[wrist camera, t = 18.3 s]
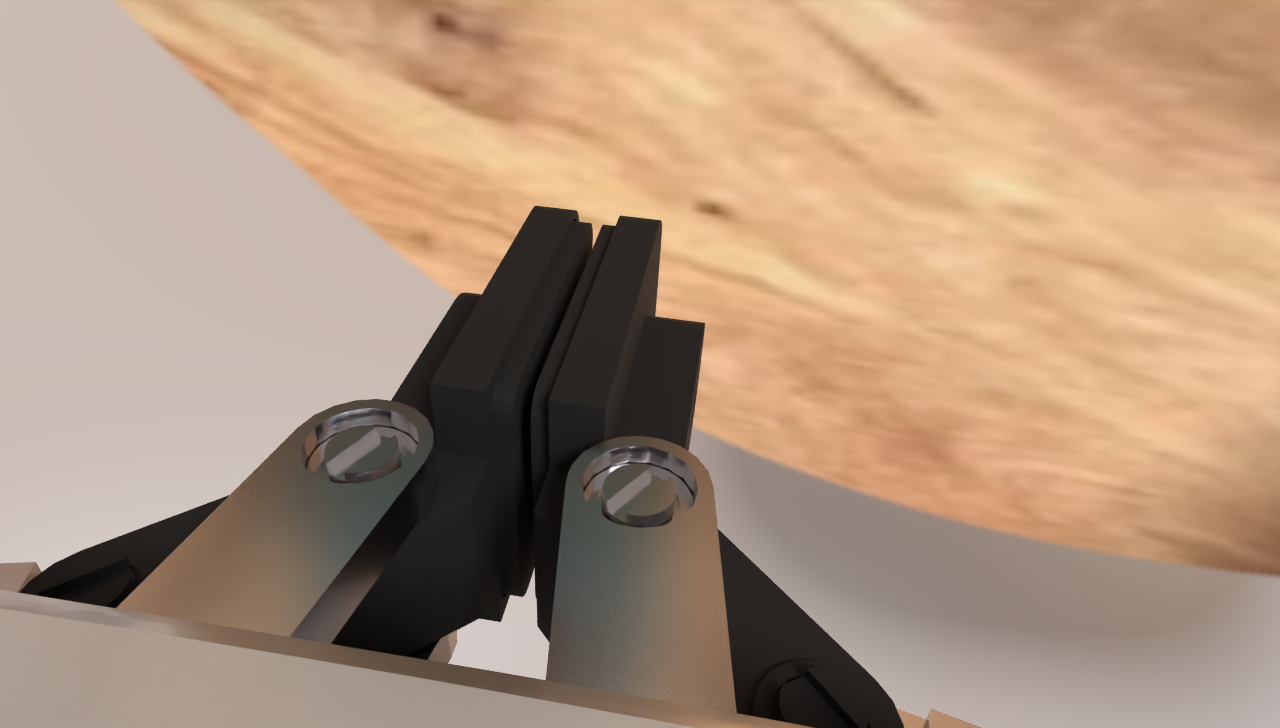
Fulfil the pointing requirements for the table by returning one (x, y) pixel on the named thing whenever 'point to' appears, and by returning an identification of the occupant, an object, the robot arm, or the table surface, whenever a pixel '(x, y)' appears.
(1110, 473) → the table surface
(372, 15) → the table surface
